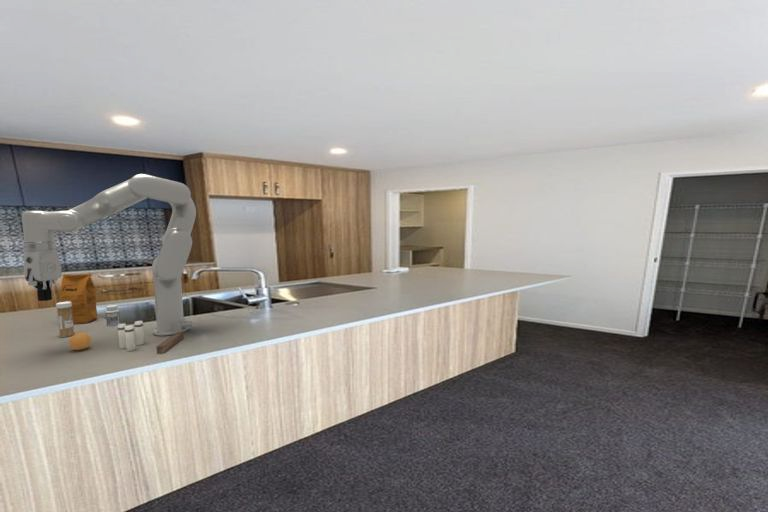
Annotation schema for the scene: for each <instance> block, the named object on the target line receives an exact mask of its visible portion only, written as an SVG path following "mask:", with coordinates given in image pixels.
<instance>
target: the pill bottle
mask: <svg viewBox="0 0 768 512" xmlns="http://www.w3.org/2000/svg"><path fill="white" fill-rule="evenodd" d="M118 308H119V306H118V304H111V305H107V306H106V308H105V309H106V311H105V317H106V325H108V326H107V327H114V326H113V325H115V326H118V325H117V324H121V317H120V315H121V314H120V309H118Z"/></svg>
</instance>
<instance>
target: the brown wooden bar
mask: <svg viewBox="0 0 768 512" xmlns="http://www.w3.org/2000/svg"><path fill="white" fill-rule="evenodd" d="M182 340H184V332H177V333H176V334H173V335H170V337H168V338H167V339H165V340H163V341H162V342H160V343H159V344H158V345H156V353H157V354H164V353H166V352H167V351H169V350H170V349H171V348H172V347H174V346H175V345H176V344H178V343H179V342H181V341H182Z"/></svg>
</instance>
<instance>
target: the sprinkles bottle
mask: <svg viewBox="0 0 768 512" xmlns="http://www.w3.org/2000/svg"><path fill="white" fill-rule="evenodd" d="M71 306H72V303H71V302H60V301H59V302H57V303H56V304H55V308H56V310H57V311H56V312H57V323H58V329H59V330H58V331H59V337H61V338H67V337H72V336H73V335H75V332H74V324H73V317H72V310H71Z"/></svg>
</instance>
